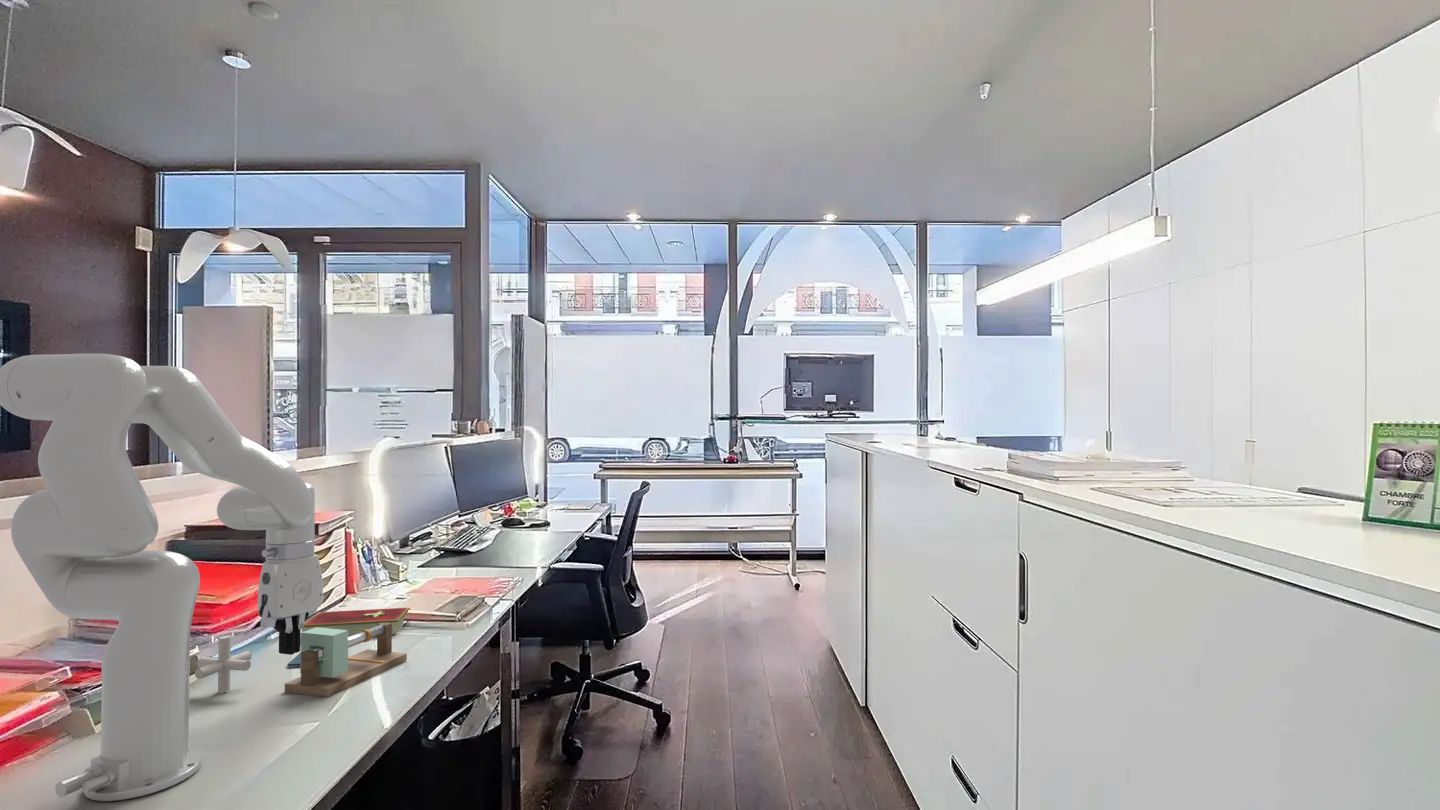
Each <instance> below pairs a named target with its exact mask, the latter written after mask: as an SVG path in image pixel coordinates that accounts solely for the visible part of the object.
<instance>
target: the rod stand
mask: <svg viewBox="0 0 1440 810" xmlns="http://www.w3.org/2000/svg"><path fill="white" fill-rule="evenodd" d="M375 638H376V649H370V648H369V649H364V650H363V651H361V652H358V653H355V654H353V655H351V656H348V671H346V672H344V673H341V674H339V675H337V676H334V677H327V676H319V675H318V660H319V659H322V658H323V656H324V647H320V648H318V649H315V650H307V651H304V652H301V651H300V653H301V673H300V676H299V677H297V678H294V679H293V680H290V681H289V680H288V681H287V682H285V683H284V693H285V692H286V693H293V694H299V695H300V694H302V695H308V696H315V697H316V696H317V697H322V698H329V697H332V696H334V695H335V694H338V693H340V692H342V691H344V690H346V689H349V688H351V687H353V686H355V685H357V684H360V683H361V682H364V681H366V680H368V679H371V678H372V677H375V676H377V675H378V674H381V673H383V672H385V671H388V670H389V669H392V668H394V667H396V666H398V665H401V664H403V663H405V662H407V661H408V660H407V656H408V654H407V653H405V652H396V651H392V650H393V648H392V647H393V644H392V643H393V642H392V641H393V640H392V639H393V635H392V623H384V622H382V623H380V624H377V626H376V627H374V628H371V629H368V630H363V631H361V632H360V633H358V634H355V635H352V636H350V637H348V649H350V648H351V647H354V646H356V645H359V644H362V643H368V642H370V641H371V640H372V639H375ZM406 660H407V661H406ZM404 661H405V662H404ZM402 662H403V663H402ZM400 663H401V664H400ZM393 666H394V667H393Z"/></svg>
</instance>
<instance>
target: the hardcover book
mask: <svg viewBox="0 0 1440 810" xmlns="http://www.w3.org/2000/svg"><path fill="white" fill-rule="evenodd" d="M408 610H410V611H411V607H395V608H391V607H389V608H376V609H375V608H374V609H372V608H371V609H355V610H353V609H352V610H337V611H336V610H335V611H334V610H333V611H321V612H320V611H319V612H317V613H315V614H314V615H313V616H311V617H310V618H309V619H306V620H305V622H304V627H303V628H302V629H301V632H304V631H307V630H310V629H313V628H316V627H319V628H329V629H339V630H348V637H350V636H352V635H355V634H358V633H360V632H361V631H363V630H368V629H371V628H374V627H376V626H377V624H380V623H382V622H384V623H392V634H396V635H397V634H398V633H399V632H400V631H401V630H402V629H401V627H402V624H403V622H404V619H405V615H406V613H407V612H408ZM400 629H401V630H400ZM399 630H400V631H399ZM398 631H399V632H398ZM397 632H398V633H397Z"/></svg>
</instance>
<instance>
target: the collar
mask: <svg viewBox="0 0 1440 810" xmlns="http://www.w3.org/2000/svg"><path fill="white" fill-rule="evenodd" d="M320 647H324V656H323V658H322V659H319V660H318V675H319V676H327V677H334V676H337V675H339V674H341V673H344V672H346V671H348V657H349V648H348V630H339V629H329V628H319V627H316V628H313V629H310V630H307V631H304V632H302V631H300V653H301V652H304V651H307V650H315V649H318V648H320ZM299 671H300V672H299V673H300V674H301V662H300V668H299Z"/></svg>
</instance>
